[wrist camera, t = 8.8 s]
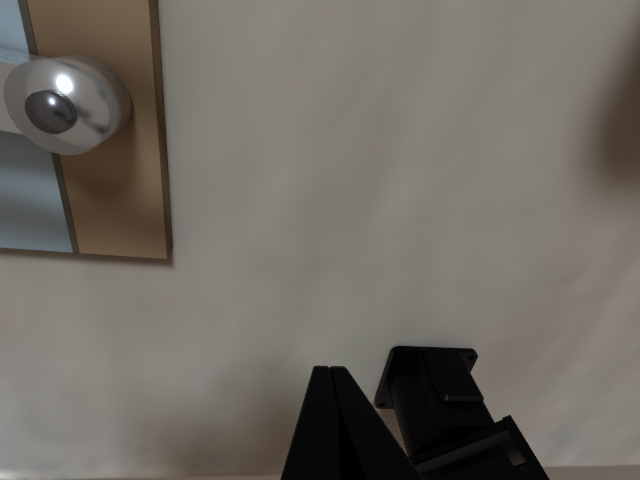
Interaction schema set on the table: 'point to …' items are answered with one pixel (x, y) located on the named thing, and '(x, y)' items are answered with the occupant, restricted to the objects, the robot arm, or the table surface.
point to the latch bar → (61, 100)
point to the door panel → (106, 158)
